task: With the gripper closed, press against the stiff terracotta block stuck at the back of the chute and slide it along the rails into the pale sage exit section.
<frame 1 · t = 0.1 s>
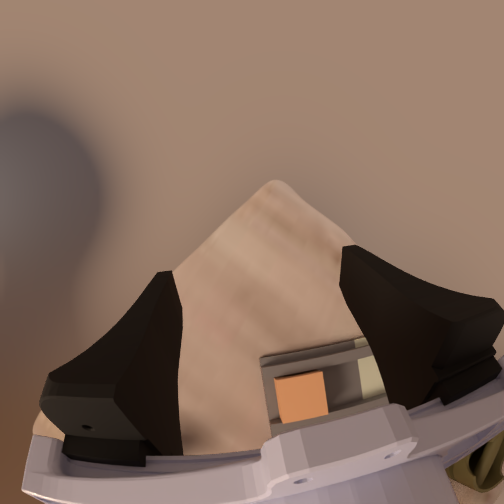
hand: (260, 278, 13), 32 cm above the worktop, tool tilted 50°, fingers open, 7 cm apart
block: (300, 395, 37), point 3 cm above the worktop, slide at 0.0 cm
chute: (339, 383, 41), on the worktop
piston: (456, 446, 36), on the worktop
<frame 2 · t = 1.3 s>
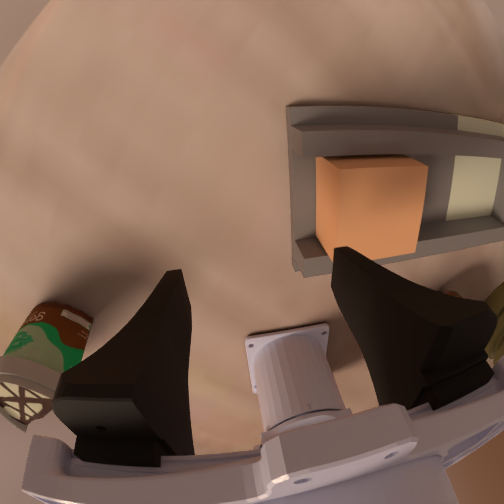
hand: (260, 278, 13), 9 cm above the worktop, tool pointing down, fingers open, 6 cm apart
block: (369, 203, 18), point 3 cm above the worktop, slide at 0.0 cm
chute: (419, 182, 22), on the worktop
food container: (47, 319, 24), on the worktop
piston: (496, 308, 34), on the worktop
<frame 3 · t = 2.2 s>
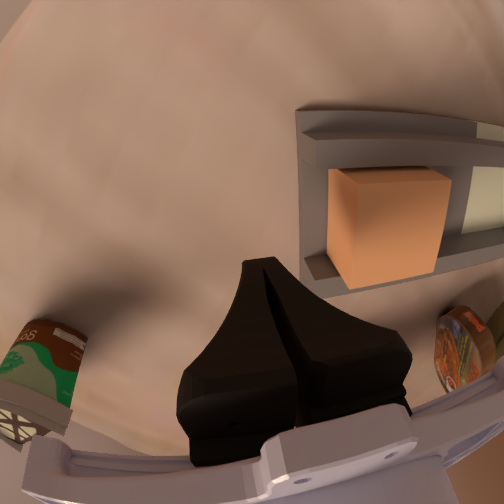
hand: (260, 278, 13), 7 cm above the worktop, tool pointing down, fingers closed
tin: (444, 335, 30), on the worktop
block: (386, 219, 17), point 3 cm above the worktop, slide at 0.0 cm
chute: (435, 193, 20), on the worktop
food container: (40, 336, 22), on the worktop
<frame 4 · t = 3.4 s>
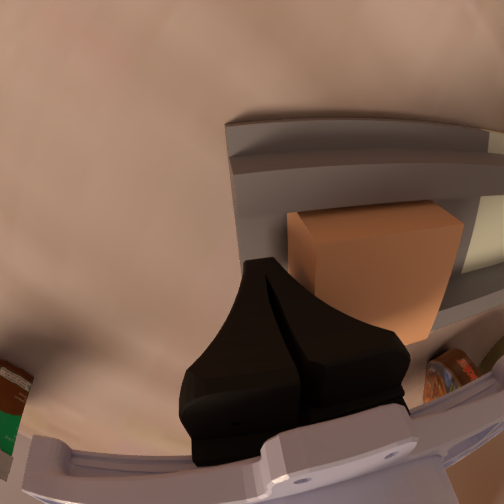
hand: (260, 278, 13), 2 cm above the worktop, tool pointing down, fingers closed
tin: (435, 374, 25), on the worktop
block: (367, 273, 12), point 3 cm above the worktop, slide at 0.6 cm, touching gripper
chute: (430, 226, 15), on the worktop
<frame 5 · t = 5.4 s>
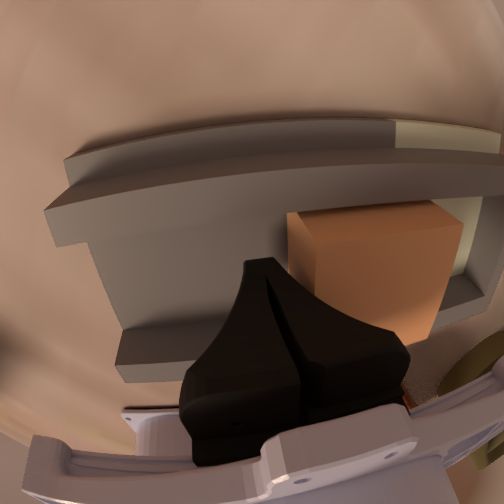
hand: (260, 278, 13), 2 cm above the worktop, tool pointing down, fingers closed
block: (366, 273, 12), point 3 cm above the worktop, slide at 7.4 cm, touching gripper
chute: (324, 240, 15), on the worktop
piston: (474, 365, 27), on the worktop
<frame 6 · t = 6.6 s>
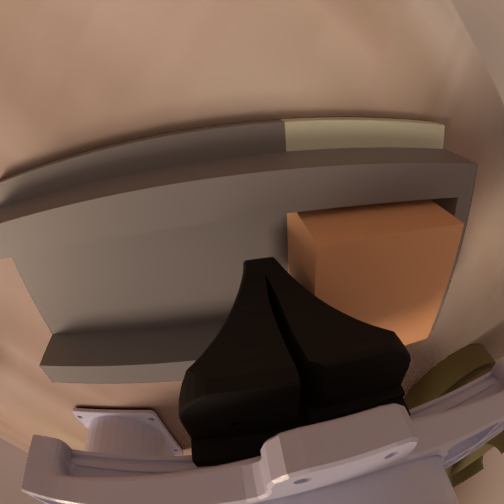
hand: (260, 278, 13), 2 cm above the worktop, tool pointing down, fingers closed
block: (367, 273, 12), point 3 cm above the worktop, slide at 12.4 cm, touching gripper
chute: (223, 253, 15), on the worktop
piston: (445, 378, 27), on the worktop
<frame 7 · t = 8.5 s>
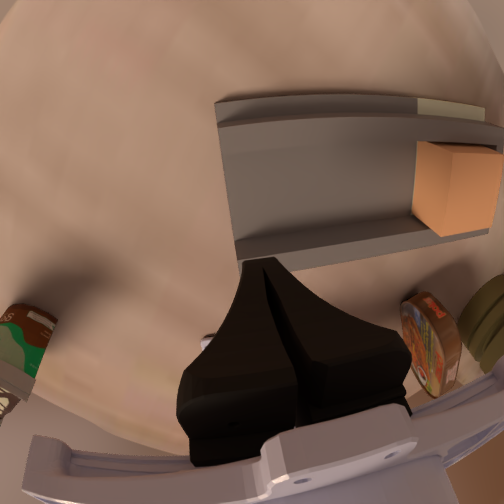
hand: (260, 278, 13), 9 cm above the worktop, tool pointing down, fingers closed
tin: (412, 323, 31), on the worktop
block: (458, 184, 18), point 3 cm above the worktop, slide at 12.4 cm
chute: (375, 174, 21), on the worktop
food container: (19, 320, 24), on the worktop
piston: (484, 307, 33), on the worktop
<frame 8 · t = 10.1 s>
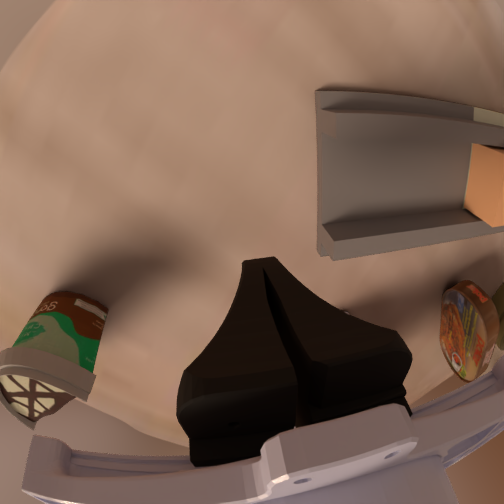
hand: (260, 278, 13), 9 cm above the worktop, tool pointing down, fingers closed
tin: (449, 312, 31), on the worktop
block: (503, 183, 19), point 3 cm above the worktop, slide at 12.4 cm
chute: (437, 170, 21), on the worktop
food container: (58, 310, 24), on the worktop
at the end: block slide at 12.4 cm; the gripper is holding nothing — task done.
